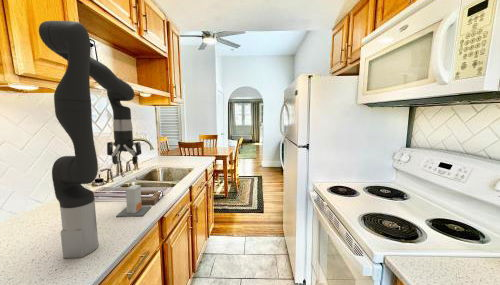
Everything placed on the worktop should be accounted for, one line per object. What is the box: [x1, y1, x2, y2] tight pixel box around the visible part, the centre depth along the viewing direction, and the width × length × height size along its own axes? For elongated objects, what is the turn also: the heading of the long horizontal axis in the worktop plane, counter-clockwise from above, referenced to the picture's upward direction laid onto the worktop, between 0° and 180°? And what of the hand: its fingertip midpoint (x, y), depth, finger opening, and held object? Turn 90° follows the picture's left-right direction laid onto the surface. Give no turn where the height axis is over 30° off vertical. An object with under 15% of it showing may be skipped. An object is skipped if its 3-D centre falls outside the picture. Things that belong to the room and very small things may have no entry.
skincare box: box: [125, 184, 142, 213], centre depth 104 cm, size 6×4×12 cm
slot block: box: [141, 190, 163, 206], centre depth 118 cm, size 13×13×3 cm
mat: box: [115, 205, 152, 218], centre depth 104 cm, size 10×12×1 cm
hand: (125, 164), depth 101 cm, fingers open, 8 cm apart
